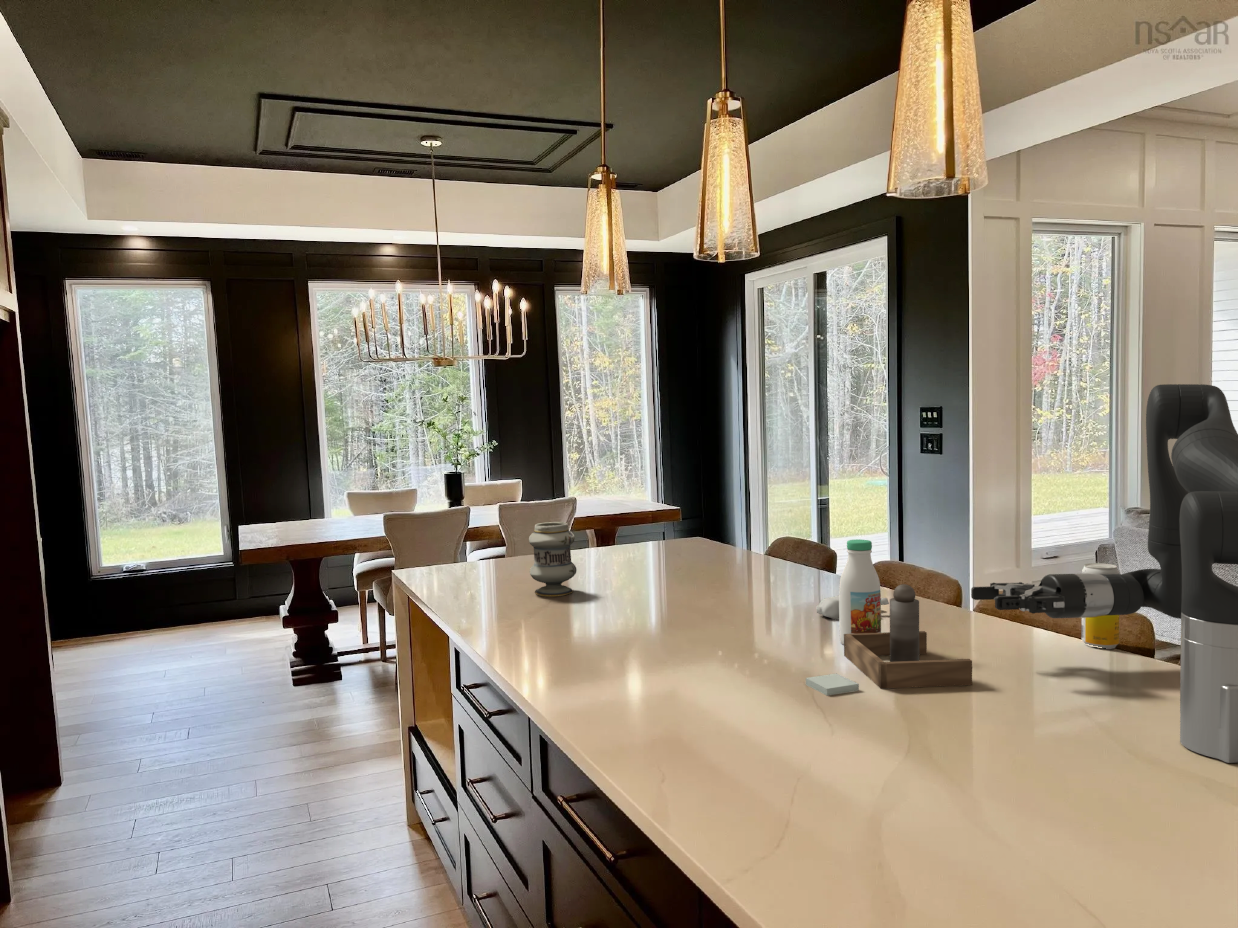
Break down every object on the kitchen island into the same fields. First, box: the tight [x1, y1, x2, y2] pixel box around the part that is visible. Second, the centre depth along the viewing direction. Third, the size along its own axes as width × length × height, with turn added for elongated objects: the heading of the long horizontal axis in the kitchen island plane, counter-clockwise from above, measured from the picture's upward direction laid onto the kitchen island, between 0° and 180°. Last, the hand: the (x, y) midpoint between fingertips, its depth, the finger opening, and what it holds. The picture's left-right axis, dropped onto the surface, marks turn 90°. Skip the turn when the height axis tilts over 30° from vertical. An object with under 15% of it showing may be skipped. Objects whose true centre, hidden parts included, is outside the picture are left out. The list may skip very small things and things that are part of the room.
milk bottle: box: [838, 538, 882, 646], centre depth 161 cm, size 8×8×20 cm
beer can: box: [1081, 562, 1121, 650], centre depth 156 cm, size 6×6×15 cm
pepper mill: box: [889, 583, 920, 662], centre depth 145 cm, size 5×5×15 cm
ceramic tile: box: [805, 673, 860, 697], centre depth 136 cm, size 6×6×2 cm
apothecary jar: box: [528, 521, 578, 597], centre depth 217 cm, size 12×12×18 cm
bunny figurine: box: [815, 594, 890, 620], centre depth 185 cm, size 10×5×15 cm
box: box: [843, 630, 973, 689], centre depth 145 cm, size 19×15×4 cm
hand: (983, 598), depth 144 cm, fingers open, 8 cm apart
